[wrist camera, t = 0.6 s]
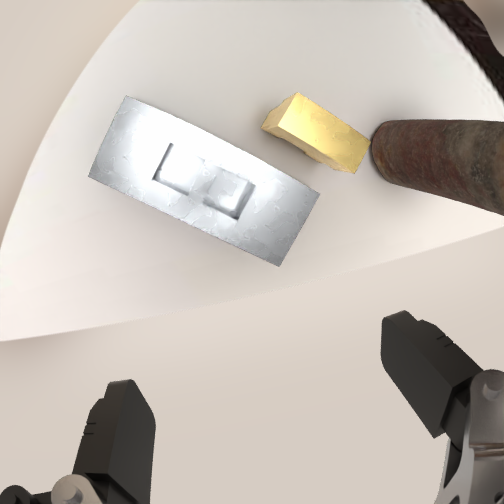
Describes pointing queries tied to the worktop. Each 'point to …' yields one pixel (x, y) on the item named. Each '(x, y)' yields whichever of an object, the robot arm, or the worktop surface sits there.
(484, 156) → the brown cylinder
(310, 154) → the yellow block
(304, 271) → the worktop surface
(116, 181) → the grey slotted base
